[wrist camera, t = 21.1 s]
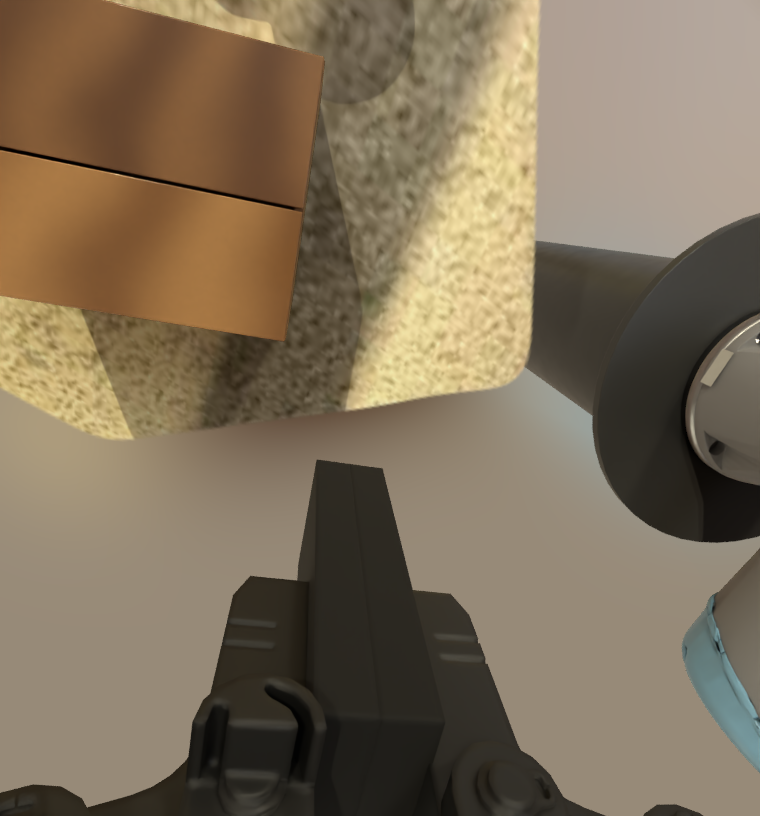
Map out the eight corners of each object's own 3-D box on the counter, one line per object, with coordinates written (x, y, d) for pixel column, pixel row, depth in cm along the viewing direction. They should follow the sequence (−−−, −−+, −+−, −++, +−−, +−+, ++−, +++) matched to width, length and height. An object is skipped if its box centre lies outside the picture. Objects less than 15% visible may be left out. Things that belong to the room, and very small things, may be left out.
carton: (320, 103, 34) (325, 55, 24) (291, 306, 38) (284, 343, 28) (64, 41, 31) (-60, -45, 21) (62, 267, 35) (-42, 290, 25)
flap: (302, 212, 26) (302, 212, 26) (284, 339, 28) (284, 341, 28) (-44, 141, 23) (-50, 139, 23) (-35, 288, 25) (-41, 289, 25)
